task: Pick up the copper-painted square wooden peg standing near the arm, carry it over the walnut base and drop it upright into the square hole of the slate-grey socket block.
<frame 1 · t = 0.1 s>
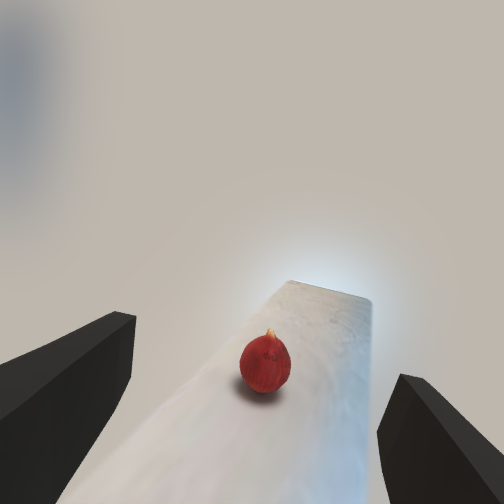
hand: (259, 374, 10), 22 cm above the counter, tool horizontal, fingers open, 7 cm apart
onion: (258, 392, 44), on the counter
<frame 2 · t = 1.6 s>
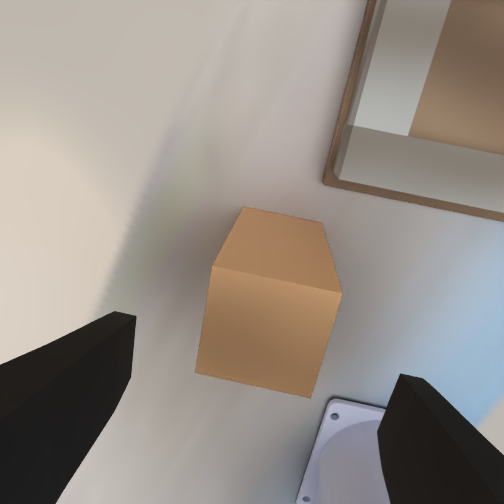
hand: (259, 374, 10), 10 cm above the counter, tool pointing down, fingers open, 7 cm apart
socket block: (470, 77, 16), on the counter
peg: (274, 251, 19), on the counter
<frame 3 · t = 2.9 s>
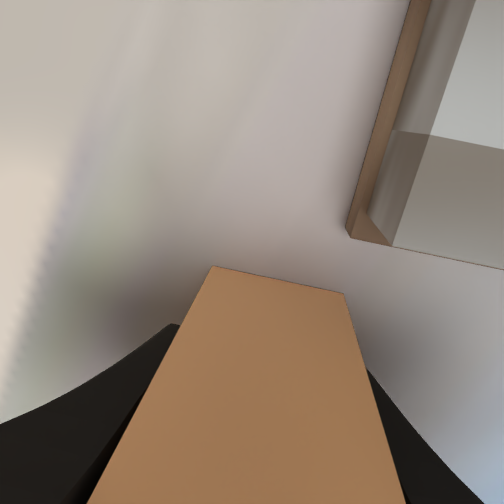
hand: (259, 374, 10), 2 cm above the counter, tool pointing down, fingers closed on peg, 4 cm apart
peg: (264, 335, 12), on the counter, touching gripper
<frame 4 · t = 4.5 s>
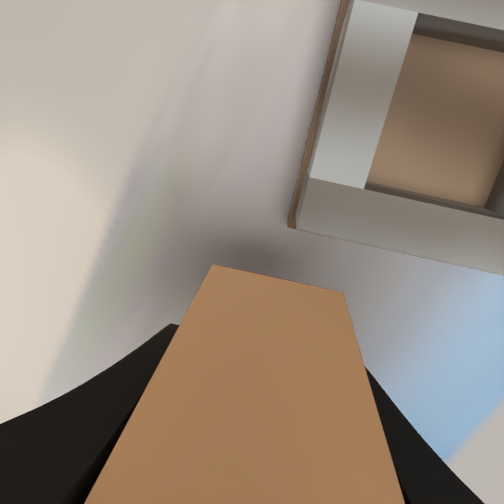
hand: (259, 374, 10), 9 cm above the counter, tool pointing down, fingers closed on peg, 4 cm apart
socket block: (434, 123, 16), on the counter
peg: (264, 334, 12), point 7 cm above the counter, touching gripper
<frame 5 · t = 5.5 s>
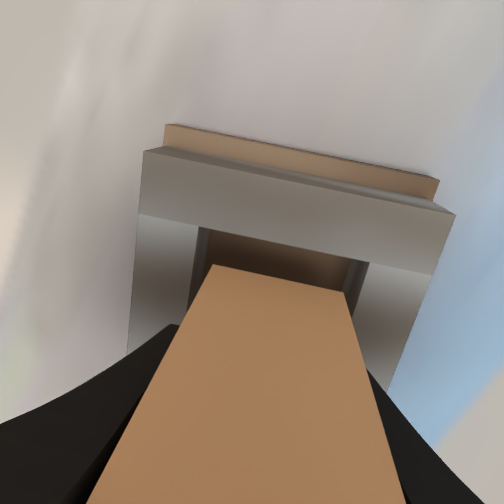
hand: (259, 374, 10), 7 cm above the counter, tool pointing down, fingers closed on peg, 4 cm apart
socket block: (271, 278, 16), on the counter
peg: (264, 334, 12), point 5 cm above the counter, touching gripper
when the fingers open (4 cm above the counter, at t = 6.3 s): peg drops 1 cm, resting on socket block.
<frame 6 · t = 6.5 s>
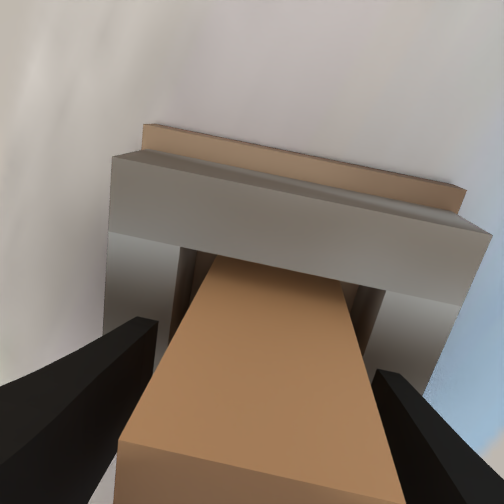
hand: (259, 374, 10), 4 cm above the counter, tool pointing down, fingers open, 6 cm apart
socket block: (268, 300, 14), on the counter
peg: (266, 312, 13), point 1 cm above the counter, touching socket block
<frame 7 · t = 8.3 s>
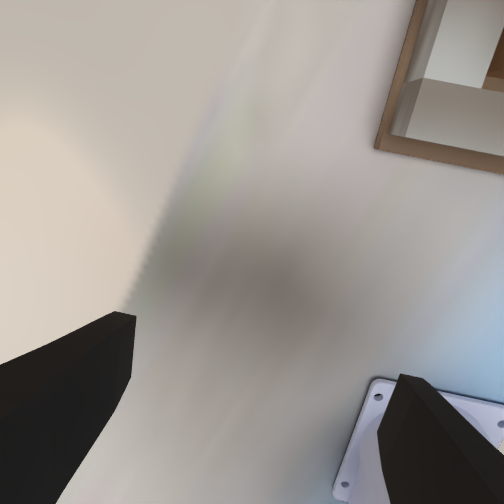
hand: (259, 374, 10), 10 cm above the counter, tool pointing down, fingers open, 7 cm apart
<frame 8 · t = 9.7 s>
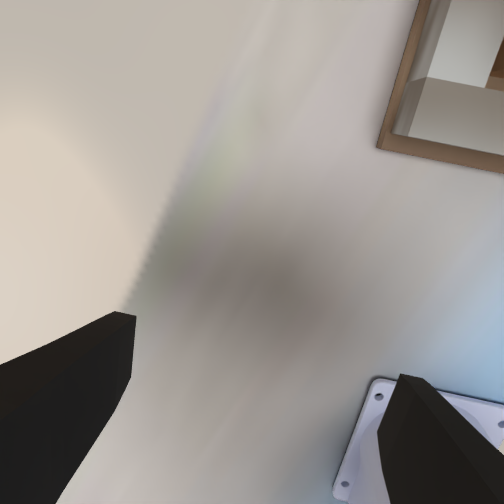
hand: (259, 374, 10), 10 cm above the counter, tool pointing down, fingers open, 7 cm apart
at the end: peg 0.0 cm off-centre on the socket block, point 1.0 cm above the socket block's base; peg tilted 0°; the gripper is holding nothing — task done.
